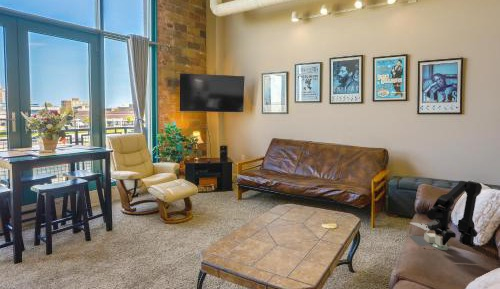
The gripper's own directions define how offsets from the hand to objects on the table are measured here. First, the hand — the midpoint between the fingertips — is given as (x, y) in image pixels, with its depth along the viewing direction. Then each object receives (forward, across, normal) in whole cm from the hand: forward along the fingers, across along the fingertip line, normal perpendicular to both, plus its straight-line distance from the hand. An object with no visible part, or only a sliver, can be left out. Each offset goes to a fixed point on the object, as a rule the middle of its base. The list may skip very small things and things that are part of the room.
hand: (440, 243), depth 195 cm
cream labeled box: (+3, -9, 0) cm, 9 cm away
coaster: (+3, 0, 0) cm, 3 cm away
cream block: (+1, 0, 0) cm, 1 cm away
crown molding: (+4, -31, +9) cm, 33 cm away
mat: (+3, -6, -4) cm, 8 cm away
